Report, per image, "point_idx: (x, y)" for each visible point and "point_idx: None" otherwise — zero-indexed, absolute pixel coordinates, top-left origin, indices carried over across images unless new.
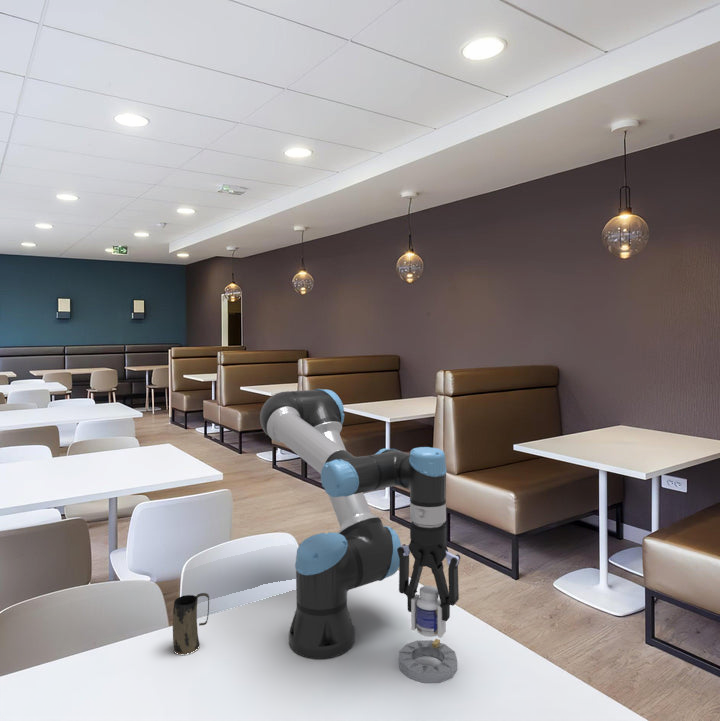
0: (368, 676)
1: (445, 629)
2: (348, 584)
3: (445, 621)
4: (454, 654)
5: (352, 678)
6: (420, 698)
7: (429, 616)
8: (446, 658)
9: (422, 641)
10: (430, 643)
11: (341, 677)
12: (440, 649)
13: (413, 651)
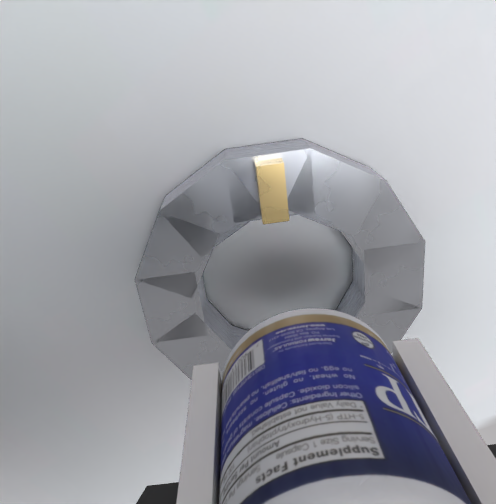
0: (133, 442)
1: (424, 351)
2: None
3: (452, 396)
4: (395, 206)
5: (99, 474)
6: None
7: None
8: (371, 261)
9: (189, 203)
10: (236, 193)
11: (67, 488)
12: (310, 209)
13: (199, 293)
